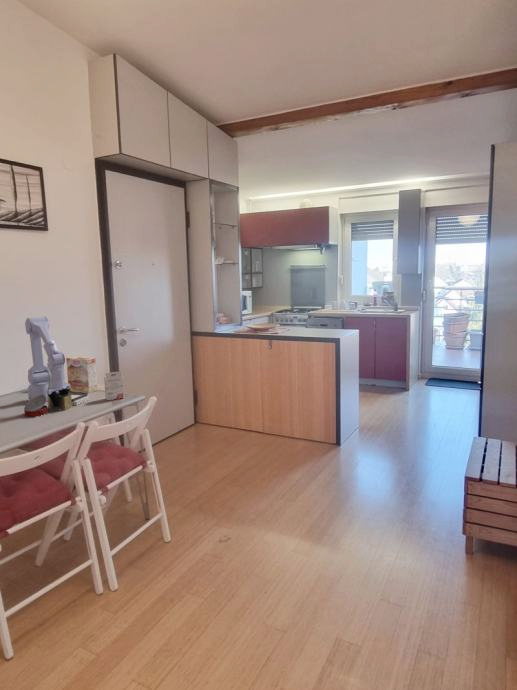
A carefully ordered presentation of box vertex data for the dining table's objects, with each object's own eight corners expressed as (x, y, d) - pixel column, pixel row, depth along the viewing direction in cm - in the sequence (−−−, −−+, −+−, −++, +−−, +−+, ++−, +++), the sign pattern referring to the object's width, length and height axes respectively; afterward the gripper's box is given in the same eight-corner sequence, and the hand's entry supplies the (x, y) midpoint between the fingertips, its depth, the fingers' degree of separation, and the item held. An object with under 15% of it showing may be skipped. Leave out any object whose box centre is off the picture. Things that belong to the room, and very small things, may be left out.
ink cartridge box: (121, 396, 243) (120, 369, 241) (123, 398, 239) (122, 371, 237) (105, 398, 239) (103, 371, 237) (106, 400, 235) (104, 373, 233)
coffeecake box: (68, 391, 256) (65, 357, 253) (77, 388, 262) (75, 355, 259) (88, 393, 250) (86, 359, 247) (98, 390, 257) (95, 357, 254)
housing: (48, 408, 222) (47, 396, 221) (55, 406, 226) (54, 393, 225) (65, 410, 219) (64, 397, 218) (72, 407, 224) (71, 394, 223)
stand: (53, 403, 231) (53, 398, 230) (68, 398, 241) (67, 392, 241) (76, 405, 227) (76, 399, 227) (90, 399, 237) (90, 394, 237)
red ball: (48, 423, 214) (50, 407, 210) (24, 425, 209) (26, 408, 204) (45, 407, 222) (47, 391, 218) (22, 408, 217) (24, 392, 212)
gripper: (54, 381, 212) (56, 409, 214) (74, 375, 226) (76, 401, 228) (41, 380, 214) (44, 408, 216) (62, 374, 228) (64, 400, 230)
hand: (59, 405), depth 222 cm, fingers closed on housing, 5 cm apart
